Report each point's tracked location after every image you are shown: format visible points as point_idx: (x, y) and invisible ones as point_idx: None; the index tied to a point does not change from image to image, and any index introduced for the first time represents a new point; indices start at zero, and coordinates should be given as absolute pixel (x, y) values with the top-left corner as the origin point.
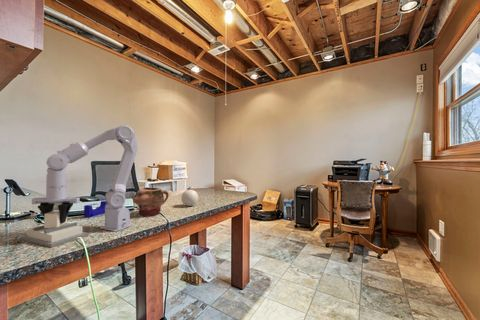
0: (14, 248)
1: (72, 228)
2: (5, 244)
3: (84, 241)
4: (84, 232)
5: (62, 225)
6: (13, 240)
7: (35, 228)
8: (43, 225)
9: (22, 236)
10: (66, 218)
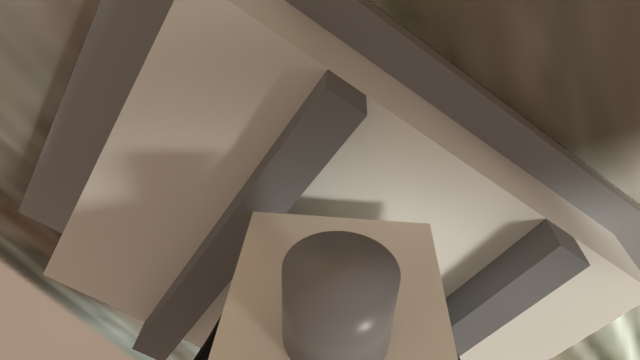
0: (182, 357)
1: (544, 333)
2: (40, 285)
3: (635, 341)
4: (636, 221)
5: (366, 203)
6: (4, 216)
7: (167, 353)
8: (177, 294)
9: (41, 222)
10: (437, 294)
